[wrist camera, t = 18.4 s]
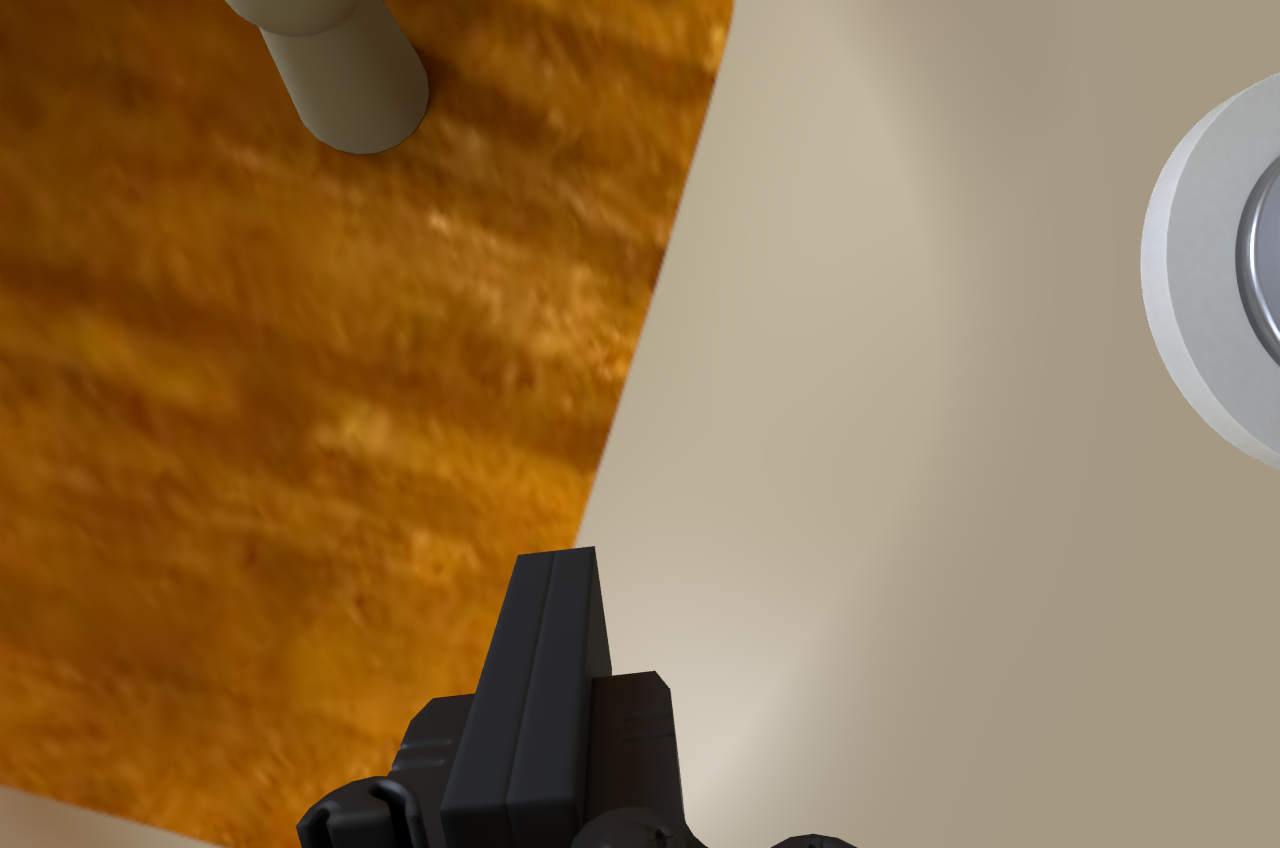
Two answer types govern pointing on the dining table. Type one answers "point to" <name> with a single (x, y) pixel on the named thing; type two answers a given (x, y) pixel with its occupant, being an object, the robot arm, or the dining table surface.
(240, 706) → the dining table surface
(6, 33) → the dining table surface
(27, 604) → the dining table surface
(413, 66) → the cork
